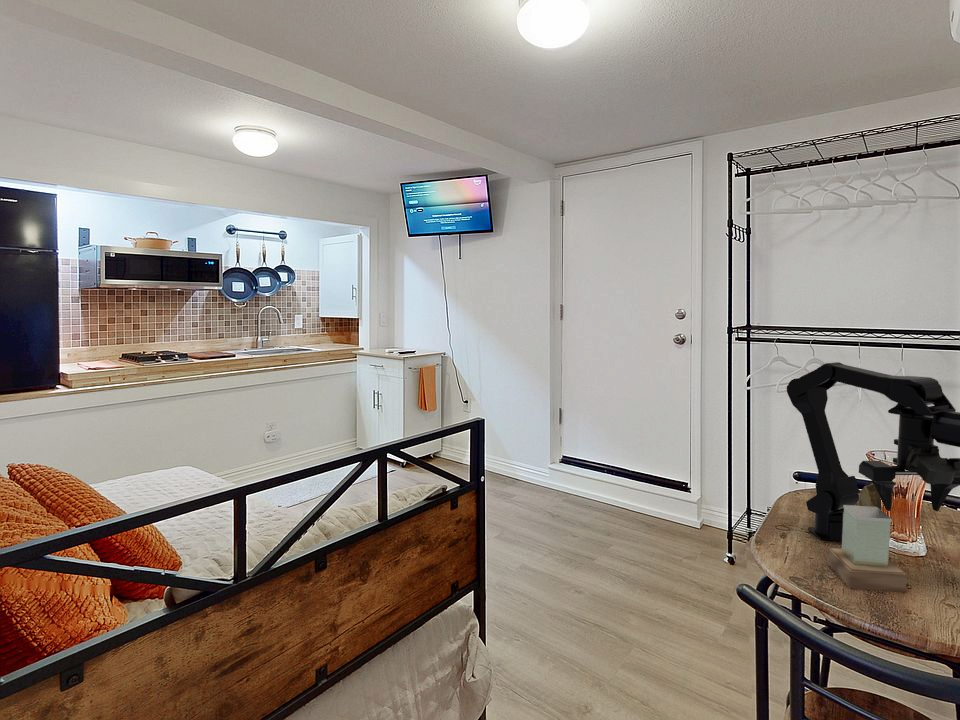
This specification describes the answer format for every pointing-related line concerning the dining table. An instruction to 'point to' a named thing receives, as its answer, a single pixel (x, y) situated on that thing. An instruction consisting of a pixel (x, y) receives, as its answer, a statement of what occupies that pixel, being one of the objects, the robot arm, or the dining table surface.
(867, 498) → the rock
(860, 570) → the walnut box
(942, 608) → the dining table surface
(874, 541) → the tea tin
